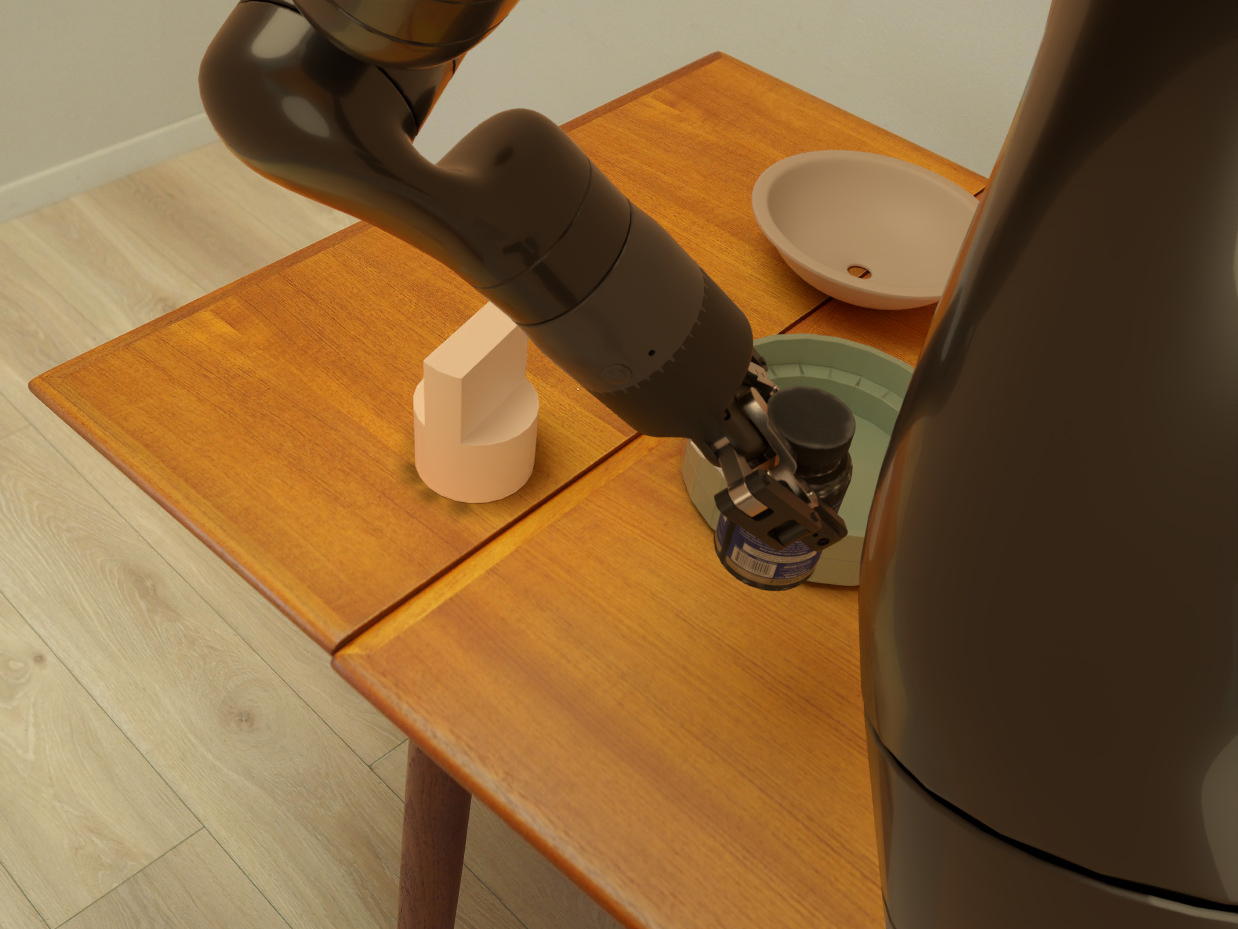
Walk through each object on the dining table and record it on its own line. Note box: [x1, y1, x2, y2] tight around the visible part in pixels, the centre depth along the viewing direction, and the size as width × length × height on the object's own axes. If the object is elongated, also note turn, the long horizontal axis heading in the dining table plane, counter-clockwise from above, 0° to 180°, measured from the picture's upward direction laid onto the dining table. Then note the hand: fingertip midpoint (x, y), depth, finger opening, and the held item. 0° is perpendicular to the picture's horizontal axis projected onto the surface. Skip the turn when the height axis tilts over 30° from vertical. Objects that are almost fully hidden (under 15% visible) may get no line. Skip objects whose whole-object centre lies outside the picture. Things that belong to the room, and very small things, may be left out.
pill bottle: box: [713, 386, 856, 592], centre depth 57 cm, size 6×6×11 cm
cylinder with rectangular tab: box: [412, 300, 540, 504], centre depth 75 cm, size 9×9×12 cm
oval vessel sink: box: [750, 149, 980, 311], centre depth 100 cm, size 24×24×7 cm
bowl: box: [680, 332, 915, 587], centre depth 80 cm, size 21×21×6 cm
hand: (814, 490), depth 57 cm, fingers closed on pill bottle, 6 cm apart
